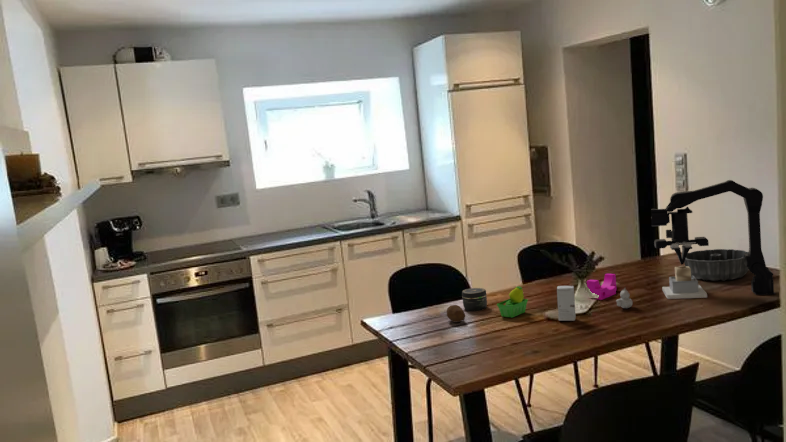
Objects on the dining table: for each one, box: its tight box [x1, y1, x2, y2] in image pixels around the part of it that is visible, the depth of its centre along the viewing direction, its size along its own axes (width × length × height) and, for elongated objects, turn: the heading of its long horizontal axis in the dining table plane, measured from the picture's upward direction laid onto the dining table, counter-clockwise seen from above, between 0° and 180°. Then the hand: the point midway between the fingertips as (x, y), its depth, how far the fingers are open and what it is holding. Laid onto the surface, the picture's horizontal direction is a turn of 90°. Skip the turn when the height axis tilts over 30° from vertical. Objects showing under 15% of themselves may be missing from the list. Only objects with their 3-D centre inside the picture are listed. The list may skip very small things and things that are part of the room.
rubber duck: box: [615, 288, 633, 309], centre depth 235 cm, size 5×7×8 cm
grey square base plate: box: [661, 276, 708, 300], centre depth 245 cm, size 14×14×6 cm
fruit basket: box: [496, 285, 529, 319], centre depth 243 cm, size 11×9×11 cm
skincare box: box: [556, 285, 577, 322], centre depth 228 cm, size 6×4×12 cm
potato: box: [446, 304, 466, 323], centre depth 243 cm, size 7×10×6 cm
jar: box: [461, 287, 488, 312], centre depth 258 cm, size 10×10×8 cm
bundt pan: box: [683, 248, 749, 282], centre depth 266 cm, size 26×26×10 cm
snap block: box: [674, 265, 691, 281], centre depth 245 cm, size 5×5×6 cm
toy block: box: [586, 273, 617, 301], centre depth 257 cm, size 15×6×8 cm, turn 129°
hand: (682, 264), depth 245 cm, fingers closed
